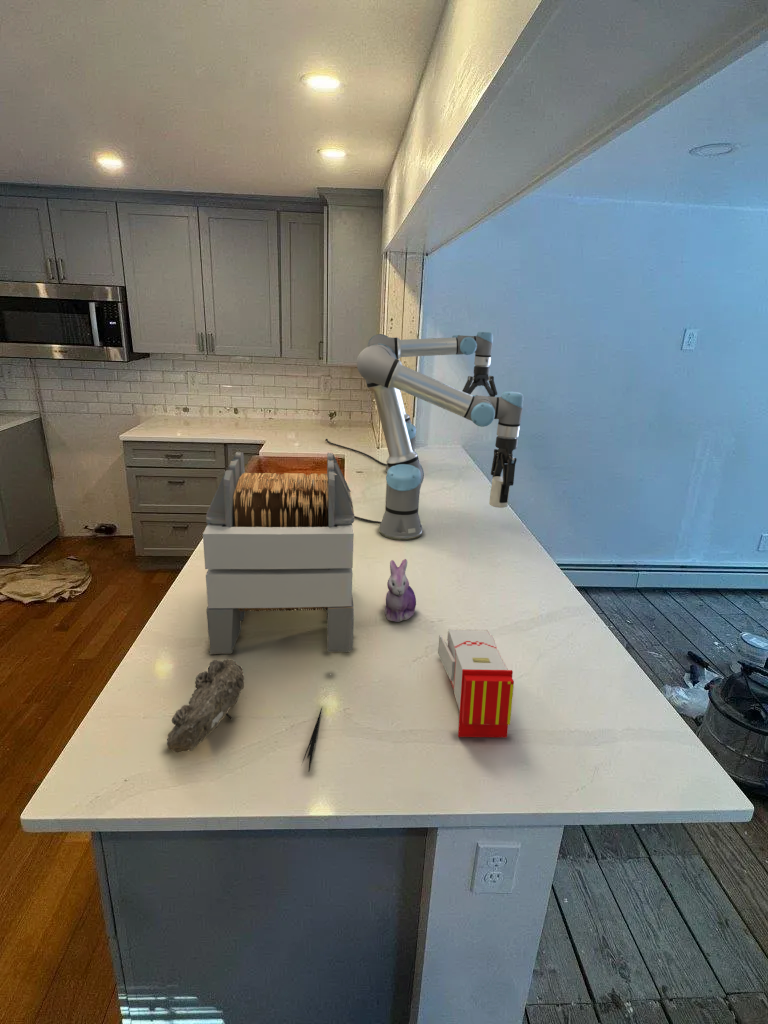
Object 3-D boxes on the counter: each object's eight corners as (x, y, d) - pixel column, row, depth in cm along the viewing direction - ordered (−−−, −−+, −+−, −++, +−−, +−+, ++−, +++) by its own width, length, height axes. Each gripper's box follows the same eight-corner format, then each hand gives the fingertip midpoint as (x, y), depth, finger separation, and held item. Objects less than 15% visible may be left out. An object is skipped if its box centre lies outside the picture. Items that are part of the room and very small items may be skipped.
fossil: (192, 660, 117) (244, 628, 112) (224, 691, 120) (276, 661, 115) (142, 746, 98) (202, 712, 93) (182, 779, 101) (242, 748, 96)
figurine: (392, 627, 141) (395, 572, 136) (374, 608, 149) (376, 556, 144) (425, 619, 145) (429, 566, 140) (405, 601, 154) (408, 550, 149)
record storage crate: (229, 585, 158) (221, 442, 144) (346, 584, 161) (350, 444, 148) (206, 656, 126) (193, 481, 112) (353, 652, 130) (358, 483, 116)
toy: (488, 613, 130) (523, 677, 101) (484, 667, 133) (517, 744, 104) (435, 612, 130) (455, 676, 101) (432, 666, 133) (451, 743, 103)
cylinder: (505, 509, 203) (508, 482, 200) (487, 505, 205) (490, 479, 202) (509, 503, 209) (512, 478, 205) (491, 500, 211) (494, 475, 208)
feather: (331, 679, 122) (336, 673, 122) (307, 777, 96) (313, 769, 95) (324, 675, 122) (329, 669, 121) (298, 772, 95) (304, 764, 95)
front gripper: (530, 443, 190) (520, 508, 198) (505, 431, 208) (497, 490, 216) (509, 443, 189) (500, 508, 196) (486, 430, 206) (479, 490, 214)
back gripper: (465, 366, 262) (461, 412, 269) (507, 366, 273) (502, 410, 281) (456, 365, 269) (452, 409, 276) (498, 364, 280) (493, 408, 287)
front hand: (498, 499), depth 206 cm, fingers closed on cylinder, 7 cm apart
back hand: (477, 410), depth 278 cm, fingers open, 13 cm apart
